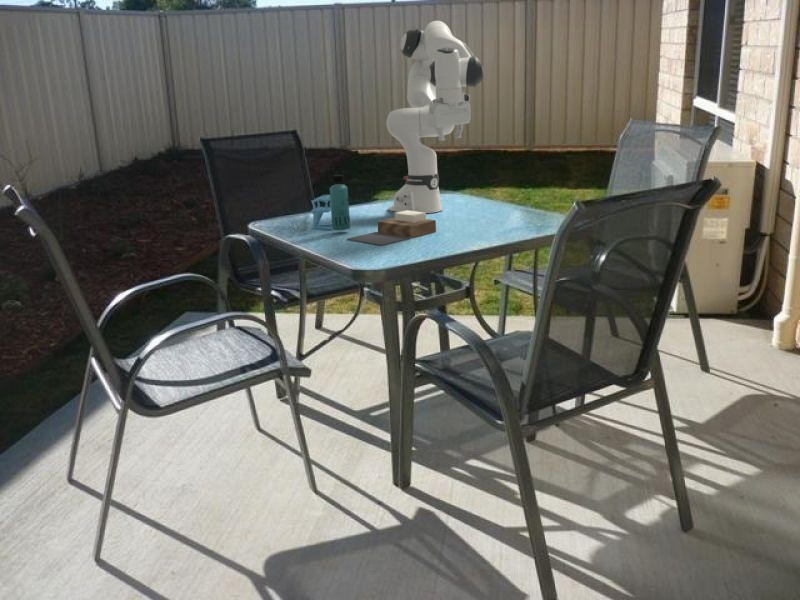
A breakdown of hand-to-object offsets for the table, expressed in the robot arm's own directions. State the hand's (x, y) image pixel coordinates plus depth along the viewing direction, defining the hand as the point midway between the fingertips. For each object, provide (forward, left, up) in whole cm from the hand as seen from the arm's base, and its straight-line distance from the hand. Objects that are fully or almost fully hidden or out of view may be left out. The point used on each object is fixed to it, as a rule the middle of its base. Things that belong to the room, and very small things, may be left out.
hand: (450, 139), depth 283 cm
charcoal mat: (-3, -32, -29) cm, 44 cm away
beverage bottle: (-22, -32, -30) cm, 49 cm away
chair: (-34, -30, -30) cm, 55 cm away
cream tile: (-3, -17, -25) cm, 31 cm away
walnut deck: (-3, -19, -29) cm, 36 cm away
